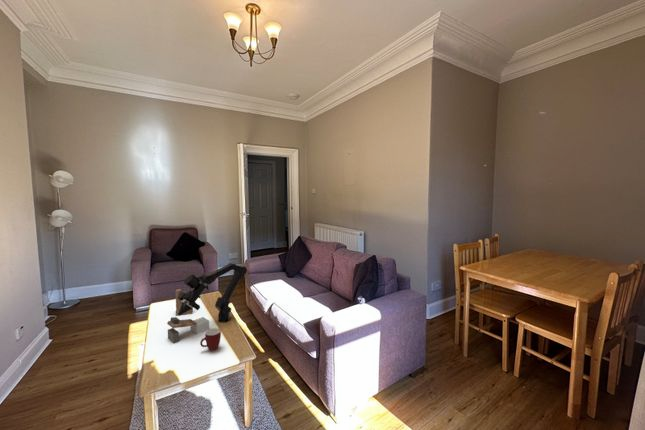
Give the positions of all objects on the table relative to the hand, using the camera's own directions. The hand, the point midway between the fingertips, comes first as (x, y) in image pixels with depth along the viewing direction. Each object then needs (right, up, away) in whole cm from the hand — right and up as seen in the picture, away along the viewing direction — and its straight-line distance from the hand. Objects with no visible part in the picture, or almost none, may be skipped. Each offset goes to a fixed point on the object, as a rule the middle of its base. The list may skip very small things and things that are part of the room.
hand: (178, 315), depth 160 cm
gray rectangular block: (+4, -13, +6) cm, 15 cm away
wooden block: (-13, -11, +33) cm, 37 cm away
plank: (+1, -6, +2) cm, 7 cm away
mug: (+24, -15, -11) cm, 30 cm away
